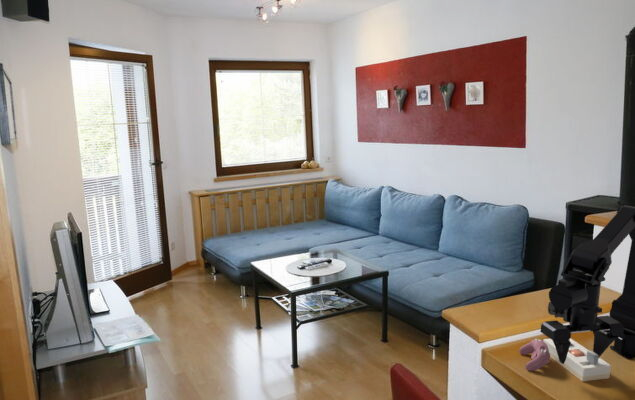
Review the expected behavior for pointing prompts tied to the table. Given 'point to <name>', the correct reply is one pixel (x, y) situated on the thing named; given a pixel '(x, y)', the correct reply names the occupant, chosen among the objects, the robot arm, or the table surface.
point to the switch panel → (580, 363)
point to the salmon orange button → (577, 353)
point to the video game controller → (536, 354)
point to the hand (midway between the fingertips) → (578, 360)
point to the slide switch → (592, 357)
